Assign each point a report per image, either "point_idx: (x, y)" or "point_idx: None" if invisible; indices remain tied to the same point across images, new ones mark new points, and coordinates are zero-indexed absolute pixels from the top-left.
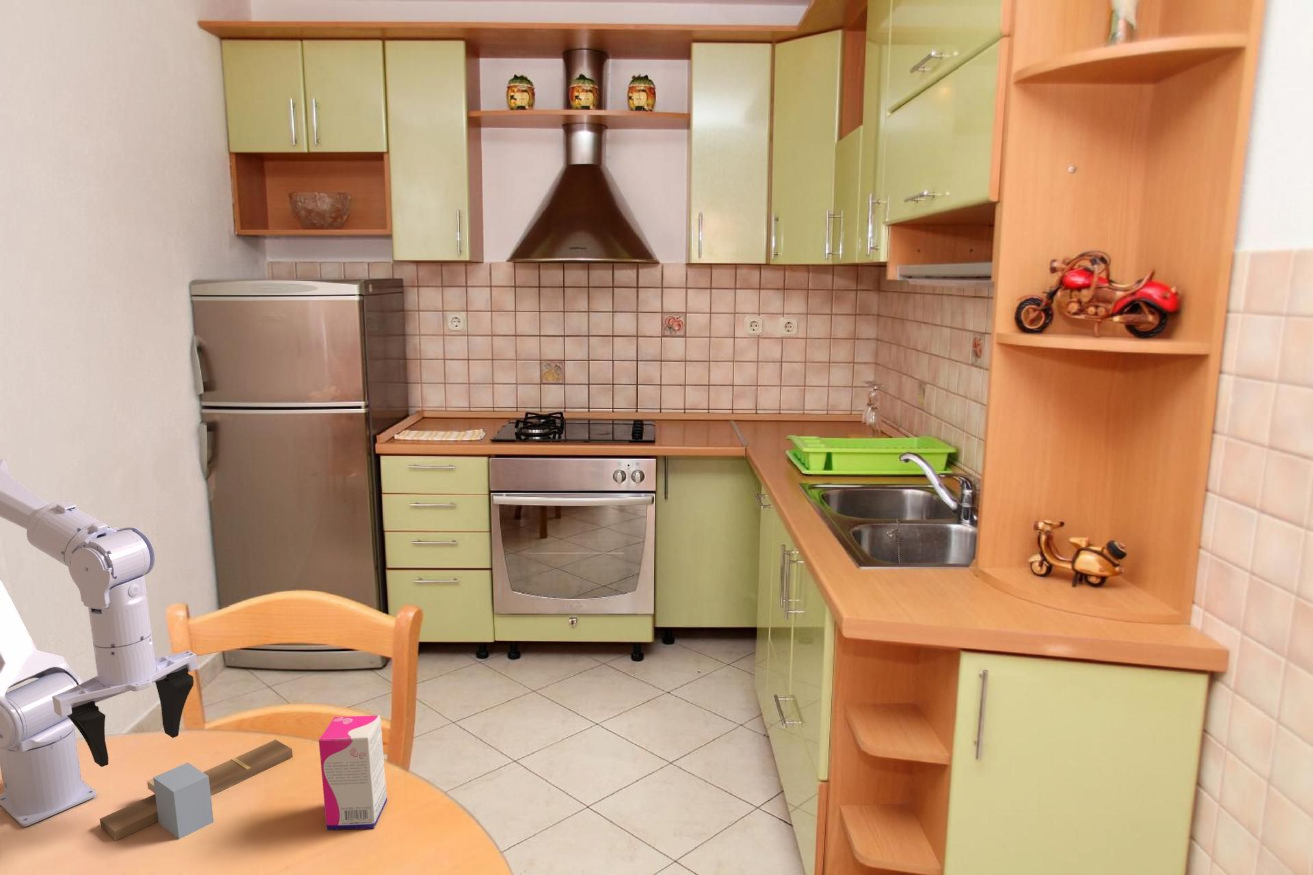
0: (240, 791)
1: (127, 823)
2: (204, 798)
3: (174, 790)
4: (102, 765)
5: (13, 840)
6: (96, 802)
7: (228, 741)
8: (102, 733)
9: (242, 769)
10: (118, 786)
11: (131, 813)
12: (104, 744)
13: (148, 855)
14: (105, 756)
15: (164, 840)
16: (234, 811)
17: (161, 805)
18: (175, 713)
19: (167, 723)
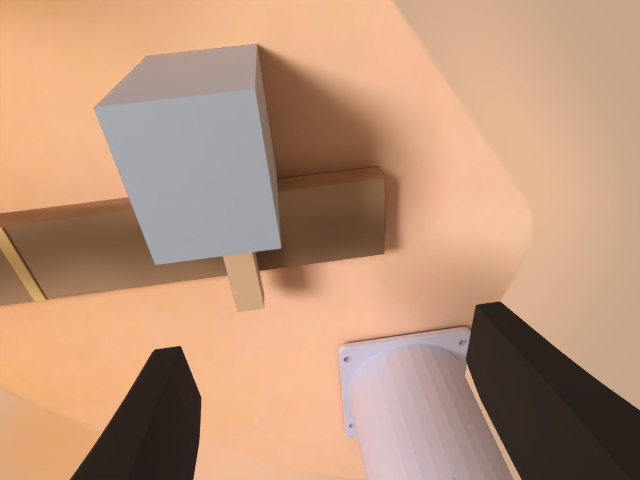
0: (45, 161)
1: (349, 191)
2: (146, 79)
3: (248, 97)
4: (503, 304)
5: None
6: (346, 328)
7: (53, 380)
8: (629, 458)
9: (17, 236)
10: (295, 353)
11: (325, 227)
12: (560, 385)
13: (350, 27)
14: (513, 331)
15: (291, 71)
16: (75, 64)
17: (273, 168)
18: (117, 475)
19: (181, 432)
